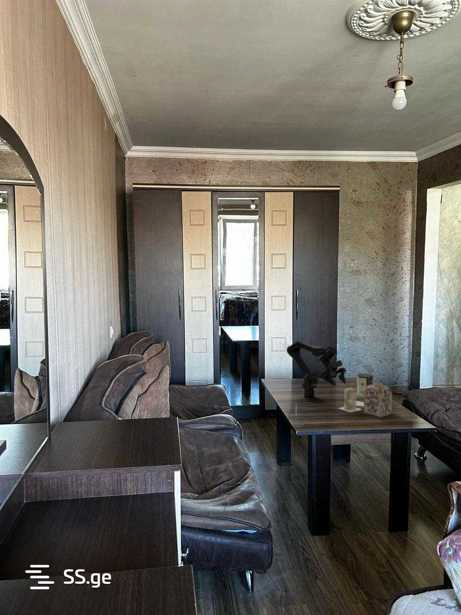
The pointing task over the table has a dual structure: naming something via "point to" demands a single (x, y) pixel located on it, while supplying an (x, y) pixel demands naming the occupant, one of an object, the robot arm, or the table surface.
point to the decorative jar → (378, 400)
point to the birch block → (350, 398)
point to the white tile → (351, 410)
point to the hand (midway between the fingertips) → (340, 384)
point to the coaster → (359, 403)
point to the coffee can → (363, 383)
